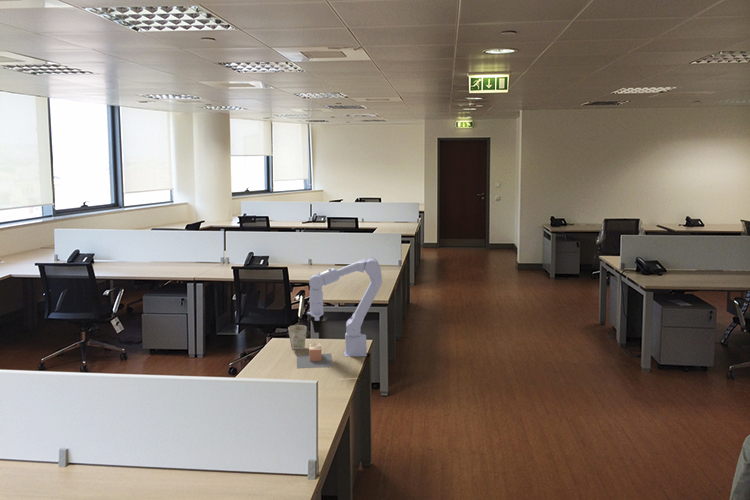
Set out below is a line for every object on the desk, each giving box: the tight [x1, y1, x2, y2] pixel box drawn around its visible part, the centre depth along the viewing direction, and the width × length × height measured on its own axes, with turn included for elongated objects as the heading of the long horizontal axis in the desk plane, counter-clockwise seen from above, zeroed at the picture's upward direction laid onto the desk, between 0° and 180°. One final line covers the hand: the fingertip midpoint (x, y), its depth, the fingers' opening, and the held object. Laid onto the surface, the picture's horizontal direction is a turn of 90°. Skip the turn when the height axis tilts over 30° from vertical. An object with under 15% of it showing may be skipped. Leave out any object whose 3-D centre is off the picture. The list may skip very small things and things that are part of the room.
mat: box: [296, 353, 334, 369], centre depth 276 cm, size 15×18×1 cm
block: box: [308, 342, 322, 361], centre depth 279 cm, size 5×5×9 cm
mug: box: [287, 324, 308, 351], centre depth 292 cm, size 8×13×10 cm, turn 174°
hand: (316, 332), depth 283 cm, fingers closed
